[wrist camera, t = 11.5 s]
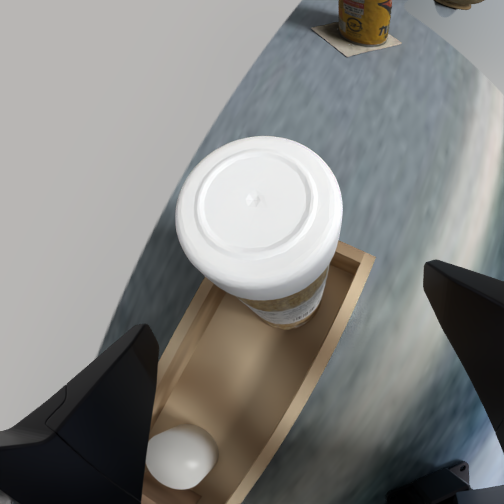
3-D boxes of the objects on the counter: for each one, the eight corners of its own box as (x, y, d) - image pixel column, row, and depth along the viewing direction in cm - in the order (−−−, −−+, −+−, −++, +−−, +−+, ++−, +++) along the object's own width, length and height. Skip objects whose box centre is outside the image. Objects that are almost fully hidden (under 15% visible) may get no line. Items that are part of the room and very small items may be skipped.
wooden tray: (195, 553, 15) (180, 575, 12) (108, 496, 18) (84, 509, 14) (365, 272, 21) (375, 257, 17) (256, 223, 23) (247, 201, 20)
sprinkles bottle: (299, 251, 21) (283, 107, 9) (335, 308, 20) (381, 223, 7) (240, 285, 21) (148, 182, 9) (274, 344, 20) (215, 323, 7)
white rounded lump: (224, 473, 17) (211, 489, 14) (171, 475, 18) (152, 488, 15) (211, 421, 19) (196, 430, 16) (158, 425, 19) (138, 433, 16)
